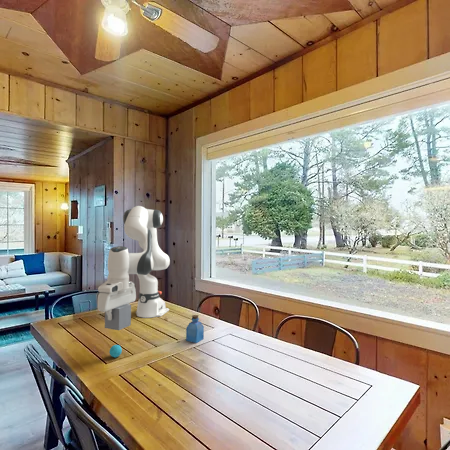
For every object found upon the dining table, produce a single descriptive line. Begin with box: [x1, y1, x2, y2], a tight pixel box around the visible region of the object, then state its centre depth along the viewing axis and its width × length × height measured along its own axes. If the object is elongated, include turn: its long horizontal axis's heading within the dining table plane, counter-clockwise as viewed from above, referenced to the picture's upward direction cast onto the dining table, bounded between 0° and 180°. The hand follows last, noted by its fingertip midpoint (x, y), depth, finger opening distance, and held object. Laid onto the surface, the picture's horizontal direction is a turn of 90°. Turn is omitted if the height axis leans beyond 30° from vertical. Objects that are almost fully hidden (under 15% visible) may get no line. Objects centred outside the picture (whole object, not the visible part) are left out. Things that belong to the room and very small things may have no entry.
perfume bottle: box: [185, 314, 205, 344], centre depth 151 cm, size 6×6×12 cm
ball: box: [109, 344, 123, 358], centre depth 130 cm, size 5×5×5 cm
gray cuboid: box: [104, 304, 132, 331], centre depth 131 cm, size 8×8×9 cm
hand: (117, 316), depth 131 cm, fingers closed on gray cuboid, 8 cm apart
